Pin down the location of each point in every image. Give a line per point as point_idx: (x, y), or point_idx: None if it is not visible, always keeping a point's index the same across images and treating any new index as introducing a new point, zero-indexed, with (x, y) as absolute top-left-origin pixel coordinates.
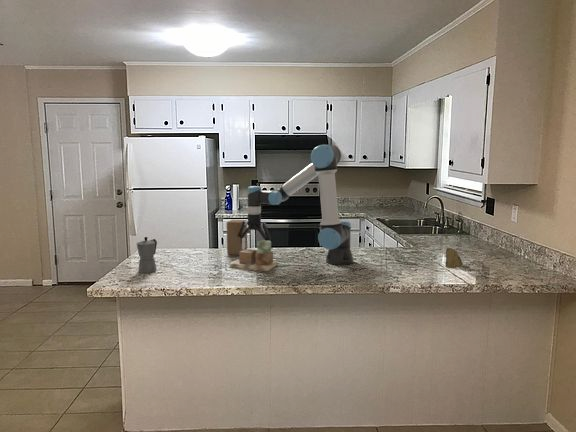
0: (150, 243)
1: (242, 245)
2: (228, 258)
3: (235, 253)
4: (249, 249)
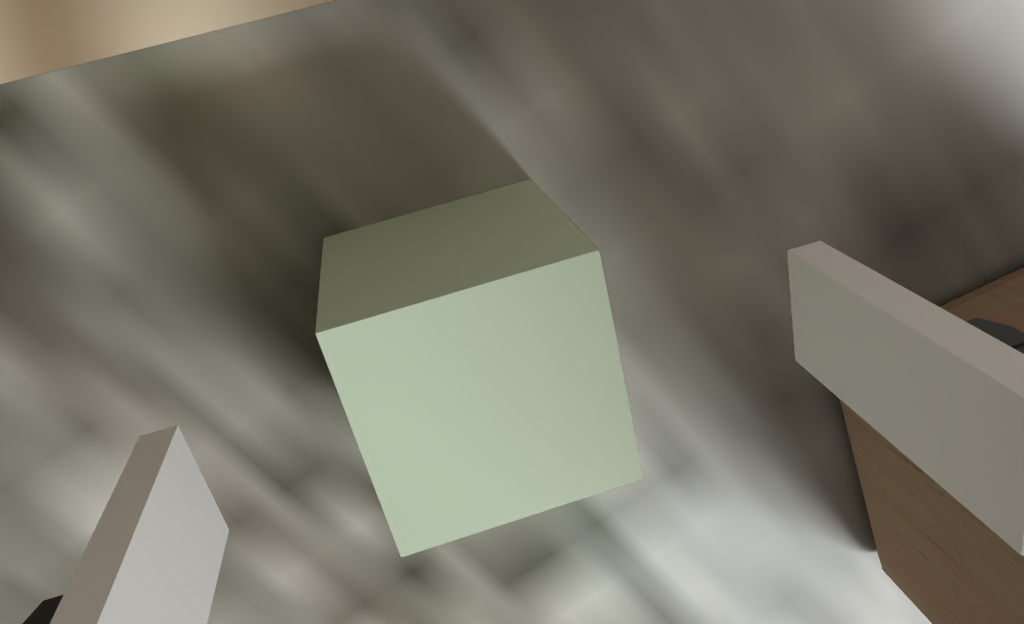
0: None
1: (872, 285)
2: (957, 9)
3: (972, 302)
4: (579, 278)
